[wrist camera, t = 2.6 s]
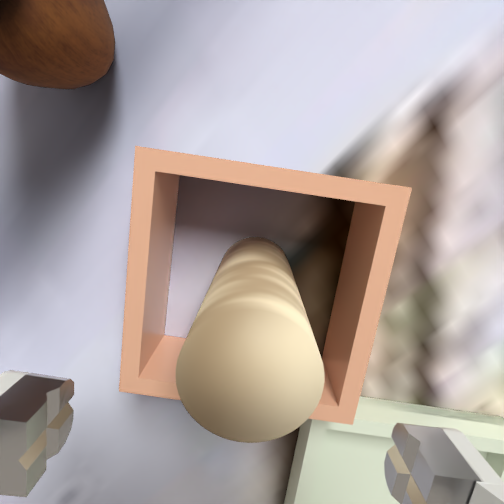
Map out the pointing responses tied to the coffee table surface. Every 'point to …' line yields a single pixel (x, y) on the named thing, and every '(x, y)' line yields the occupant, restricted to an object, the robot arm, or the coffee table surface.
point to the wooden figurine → (55, 42)
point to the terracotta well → (348, 289)
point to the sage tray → (375, 450)
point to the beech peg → (251, 349)
